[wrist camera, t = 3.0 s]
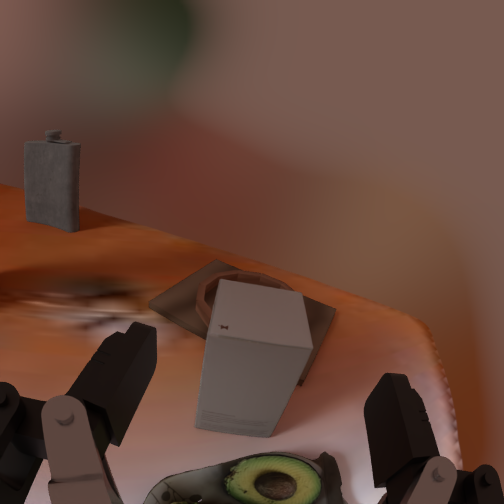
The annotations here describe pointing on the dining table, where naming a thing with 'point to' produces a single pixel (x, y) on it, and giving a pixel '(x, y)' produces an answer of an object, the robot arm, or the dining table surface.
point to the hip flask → (52, 182)
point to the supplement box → (251, 358)
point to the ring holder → (203, 296)
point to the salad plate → (255, 482)
